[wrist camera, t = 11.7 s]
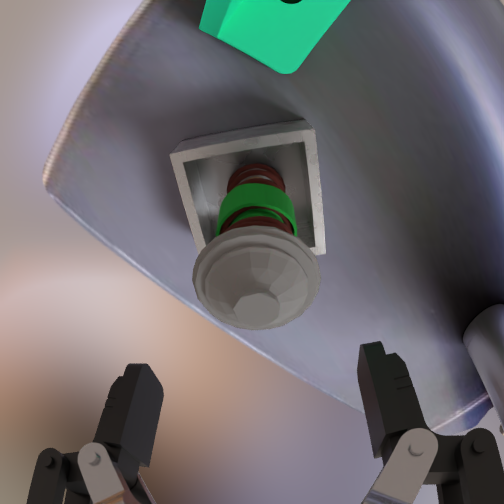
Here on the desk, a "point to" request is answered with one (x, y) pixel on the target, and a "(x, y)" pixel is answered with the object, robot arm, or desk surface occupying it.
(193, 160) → the square tray
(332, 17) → the camera mount
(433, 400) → the desk surface
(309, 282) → the shock absorber
